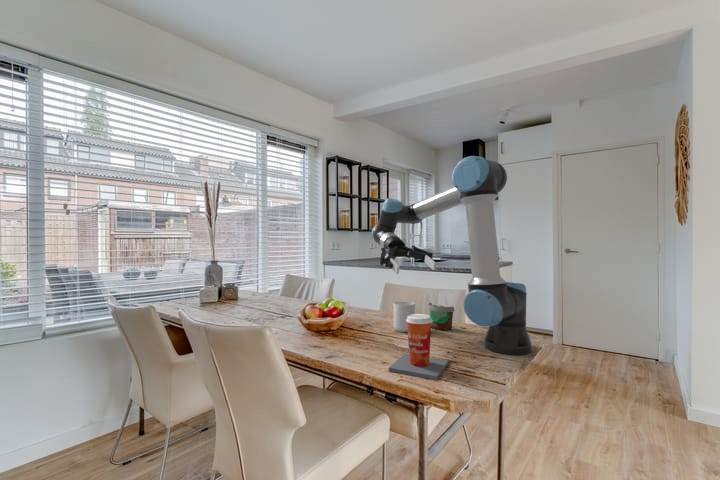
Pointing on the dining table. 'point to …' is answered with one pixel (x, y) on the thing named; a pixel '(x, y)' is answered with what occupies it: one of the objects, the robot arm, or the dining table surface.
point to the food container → (441, 317)
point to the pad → (427, 371)
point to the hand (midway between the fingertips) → (416, 268)
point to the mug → (402, 314)
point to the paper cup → (419, 339)
